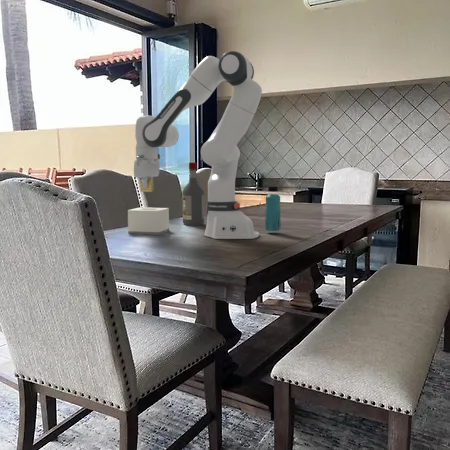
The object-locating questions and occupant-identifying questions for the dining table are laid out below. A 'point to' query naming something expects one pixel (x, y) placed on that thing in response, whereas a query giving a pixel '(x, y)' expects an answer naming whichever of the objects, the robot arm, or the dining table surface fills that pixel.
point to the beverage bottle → (273, 210)
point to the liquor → (193, 200)
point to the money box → (148, 221)
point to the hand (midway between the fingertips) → (147, 187)
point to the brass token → (150, 186)
